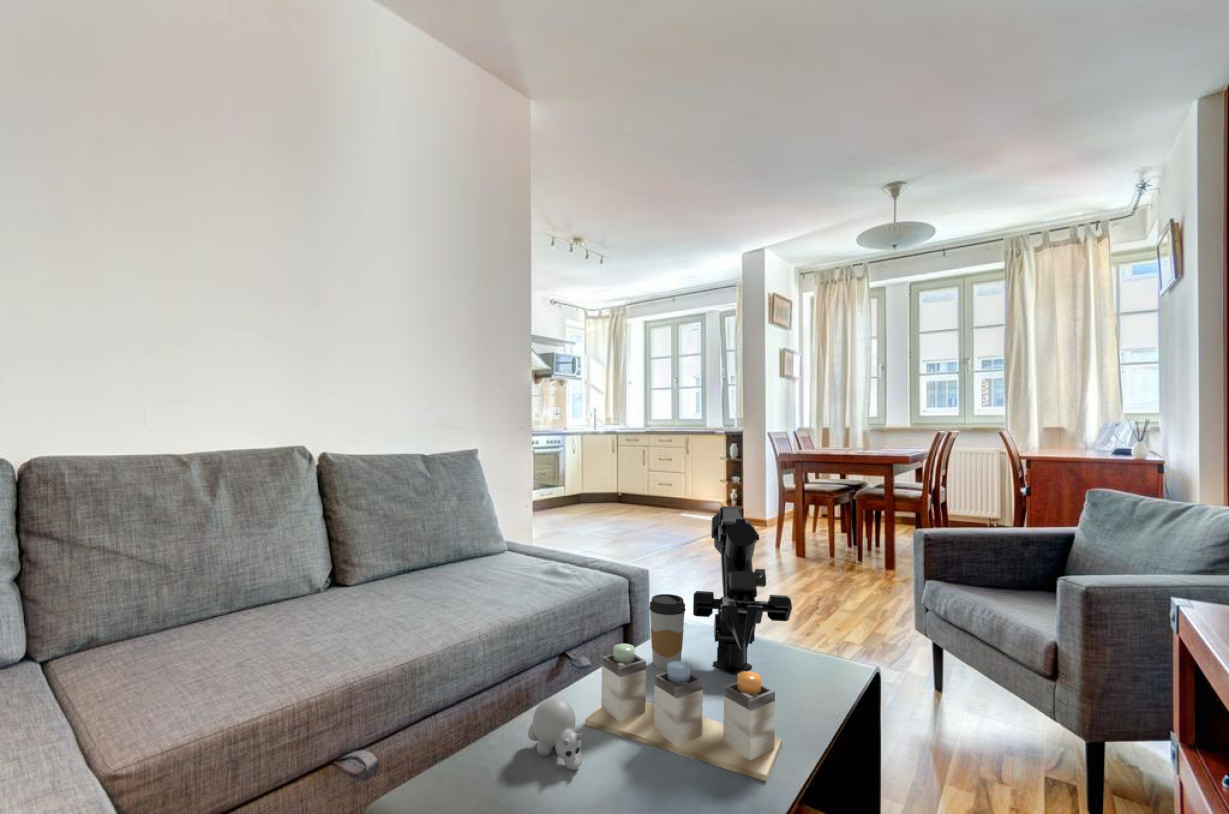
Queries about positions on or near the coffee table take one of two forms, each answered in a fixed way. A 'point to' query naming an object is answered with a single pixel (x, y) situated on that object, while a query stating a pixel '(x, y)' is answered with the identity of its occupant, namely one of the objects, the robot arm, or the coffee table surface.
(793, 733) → the coffee table surface
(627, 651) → the sage button
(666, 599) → the coffee cup
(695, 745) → the button board
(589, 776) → the coffee table surface
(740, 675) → the orange button
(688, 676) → the slate button
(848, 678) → the coffee table surface
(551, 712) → the toy rhinoceros
